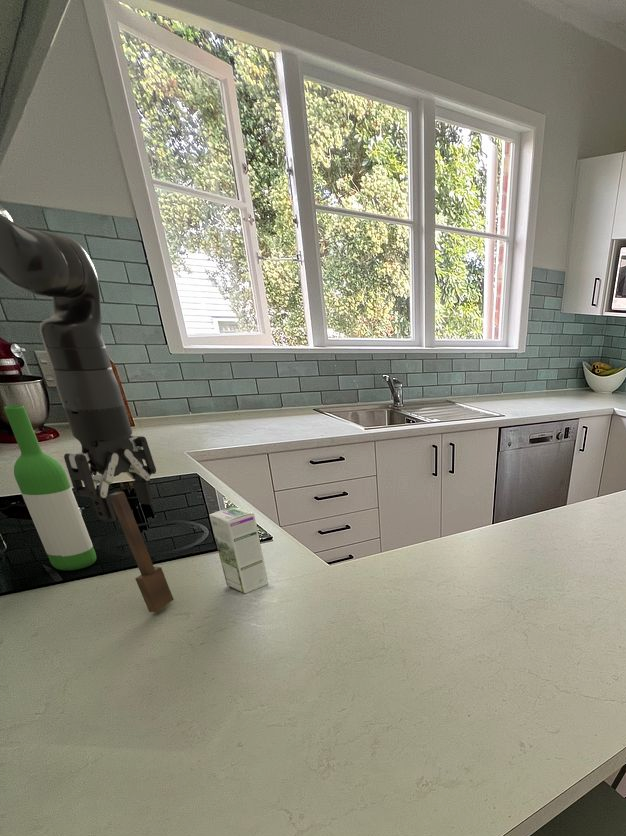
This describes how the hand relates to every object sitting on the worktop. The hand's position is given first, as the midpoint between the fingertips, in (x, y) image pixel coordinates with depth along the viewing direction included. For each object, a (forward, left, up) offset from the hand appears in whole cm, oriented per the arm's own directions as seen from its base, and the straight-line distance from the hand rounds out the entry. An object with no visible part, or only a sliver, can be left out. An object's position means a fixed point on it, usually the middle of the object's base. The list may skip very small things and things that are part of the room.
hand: (128, 511), depth 87 cm
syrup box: (+7, +14, -18) cm, 24 cm away
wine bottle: (-30, +5, -18) cm, 36 cm away
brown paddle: (-1, 0, -7) cm, 7 cm away
